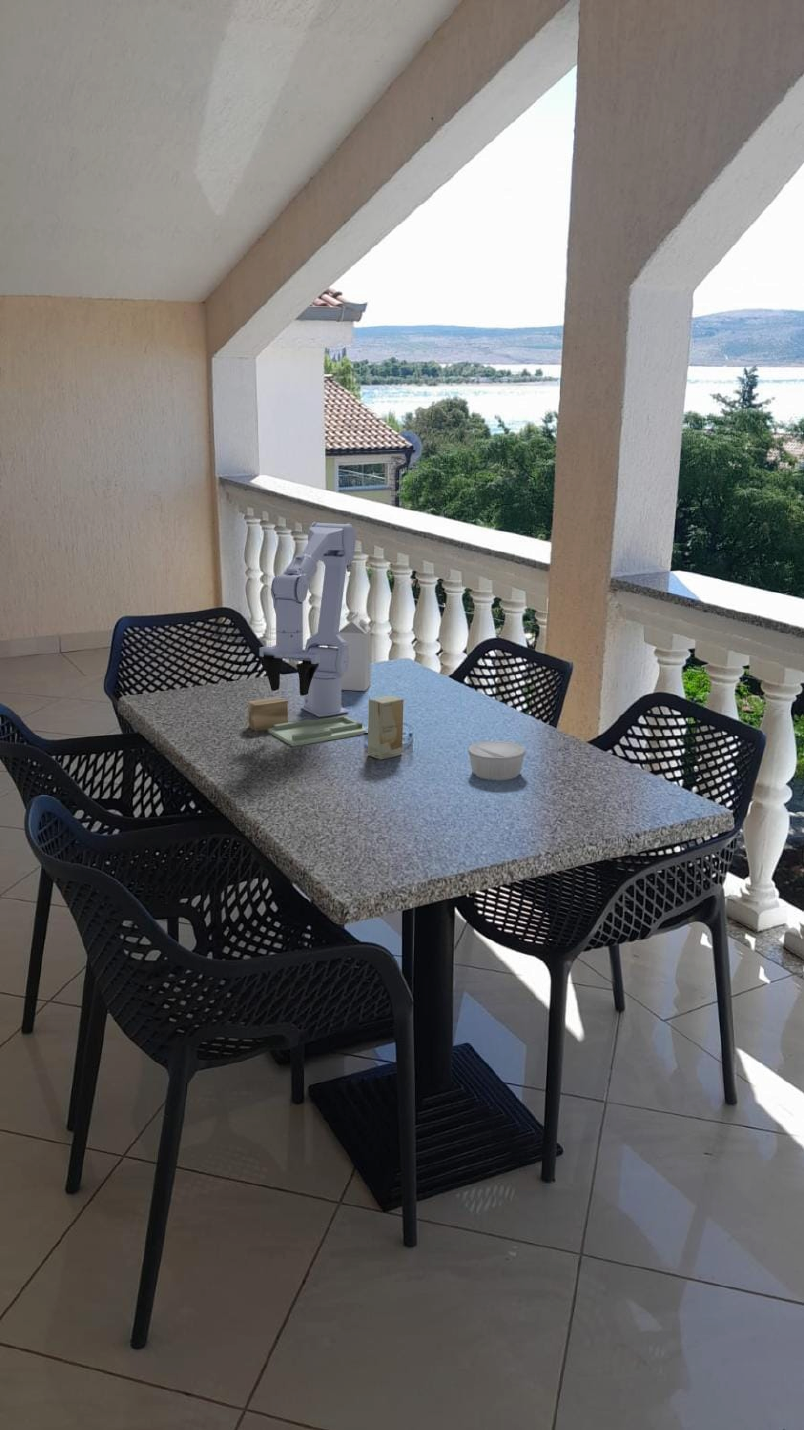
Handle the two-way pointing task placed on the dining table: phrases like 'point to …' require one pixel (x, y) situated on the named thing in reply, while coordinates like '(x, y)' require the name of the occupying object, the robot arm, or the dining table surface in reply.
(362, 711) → the dining table surface
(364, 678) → the milk carton
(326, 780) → the dining table surface
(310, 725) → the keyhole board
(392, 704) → the skincare box
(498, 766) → the ramekin
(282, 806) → the dining table surface
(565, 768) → the dining table surface
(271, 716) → the panel block
